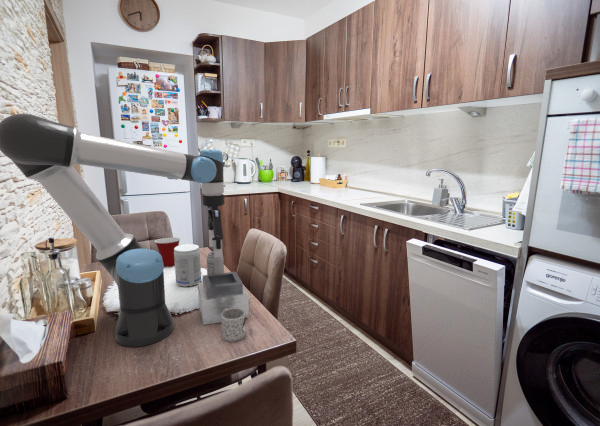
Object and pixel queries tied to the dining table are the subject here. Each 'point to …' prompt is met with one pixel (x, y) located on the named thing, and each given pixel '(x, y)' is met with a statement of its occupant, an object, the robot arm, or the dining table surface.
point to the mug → (233, 324)
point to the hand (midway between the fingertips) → (215, 251)
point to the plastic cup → (167, 249)
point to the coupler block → (221, 296)
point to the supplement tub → (187, 265)
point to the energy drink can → (214, 264)
